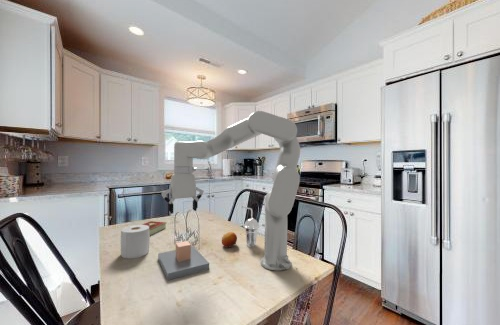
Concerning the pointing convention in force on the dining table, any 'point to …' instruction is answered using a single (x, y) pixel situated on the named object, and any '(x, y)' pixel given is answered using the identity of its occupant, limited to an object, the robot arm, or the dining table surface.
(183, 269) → the slate board
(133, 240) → the toilet paper roll
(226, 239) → the fruit
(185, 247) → the terracotta block
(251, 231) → the cup with straw
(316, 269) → the dining table surface
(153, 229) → the hardcover book
